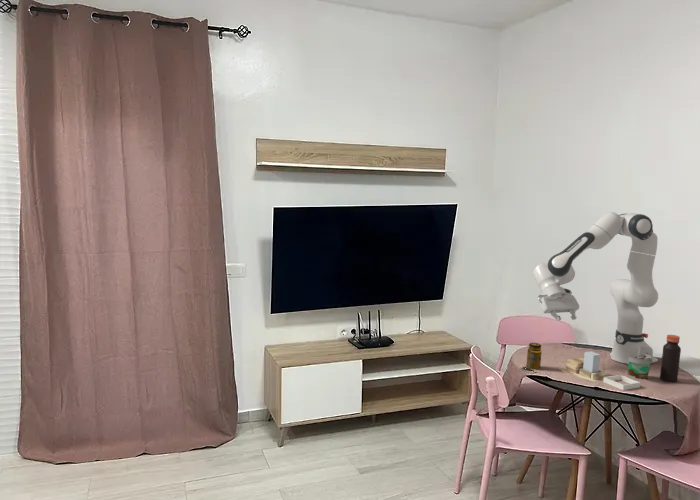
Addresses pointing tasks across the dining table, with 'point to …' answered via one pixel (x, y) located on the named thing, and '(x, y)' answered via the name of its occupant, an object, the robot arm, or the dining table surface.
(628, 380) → the white square frame
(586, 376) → the rack
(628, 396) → the dining table surface
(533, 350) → the condiment
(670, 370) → the bottle
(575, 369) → the offcut stack
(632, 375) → the food container
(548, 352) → the dining table surface
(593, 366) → the light blue block
